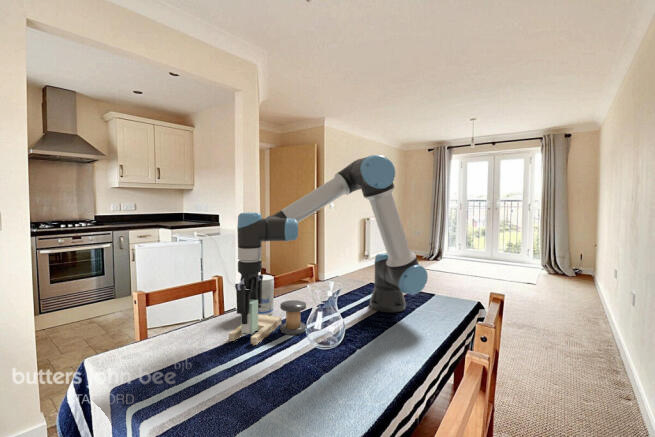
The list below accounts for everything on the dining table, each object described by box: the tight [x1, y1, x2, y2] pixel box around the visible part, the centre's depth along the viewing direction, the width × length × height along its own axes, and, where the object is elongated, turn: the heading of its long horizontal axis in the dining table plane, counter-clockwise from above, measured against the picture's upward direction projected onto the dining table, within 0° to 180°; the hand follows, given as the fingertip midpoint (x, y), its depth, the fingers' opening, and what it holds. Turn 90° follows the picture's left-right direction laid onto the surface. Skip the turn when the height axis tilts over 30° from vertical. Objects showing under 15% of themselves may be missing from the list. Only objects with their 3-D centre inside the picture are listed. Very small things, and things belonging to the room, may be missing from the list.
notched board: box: [228, 314, 282, 346], centre depth 109 cm, size 18×10×2 cm, turn 163°
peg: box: [240, 299, 258, 335], centre depth 104 cm, size 4×4×10 cm
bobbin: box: [279, 299, 307, 336], centre depth 111 cm, size 9×9×9 cm
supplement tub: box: [258, 274, 275, 316], centre depth 126 cm, size 10×10×15 cm
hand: (249, 329), depth 104 cm, fingers open, 4 cm apart
